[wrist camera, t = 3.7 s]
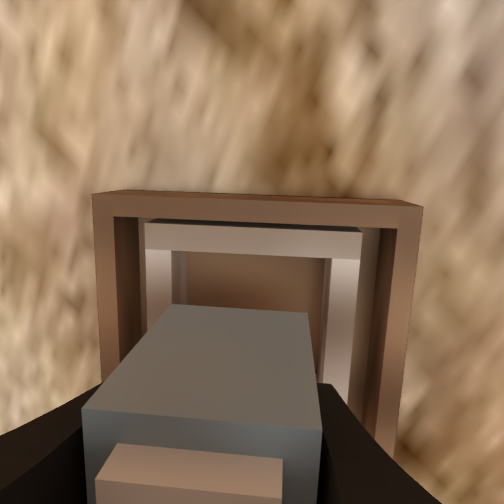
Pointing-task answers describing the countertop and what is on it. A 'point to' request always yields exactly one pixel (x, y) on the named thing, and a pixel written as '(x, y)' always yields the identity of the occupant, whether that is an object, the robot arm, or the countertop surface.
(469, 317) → the countertop surface
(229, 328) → the block
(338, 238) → the box
